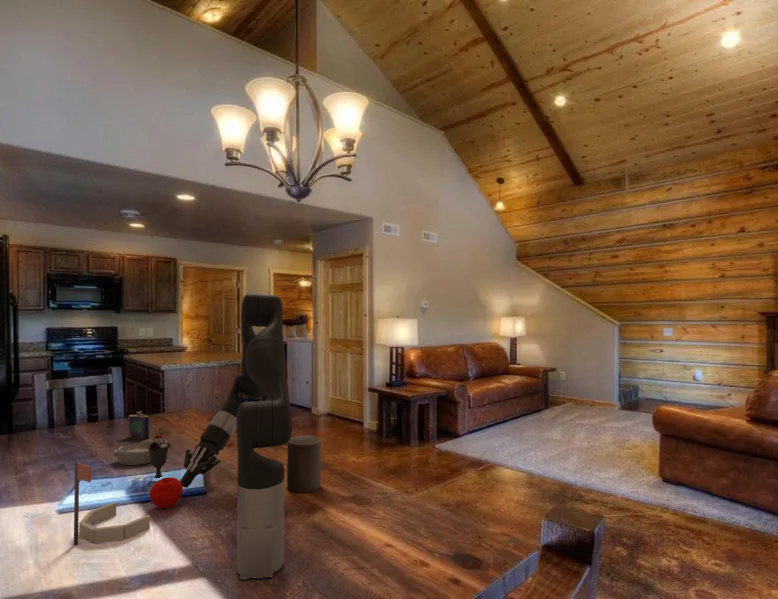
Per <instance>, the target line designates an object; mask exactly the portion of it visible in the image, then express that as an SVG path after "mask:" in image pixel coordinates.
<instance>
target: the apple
mask: <svg viewBox="0 0 778 599" xmlns="http://www.w3.org/2000/svg"><path fill="white" fill-rule="evenodd" d="M183 492H184V487H183V485H182V483H181V482H180V480H179V479H178V478H176V477H167V478H163V479H161V480H159V481H157V482H154V483H153V485H152V486H151V488H150V491H149V494H148V496H149V497H148V498H149V499H150V502H151V504H153V505H154V506H155V507H156V508H159V509H168V508H173V507H174V506H175V505H176V504H178V502H179V501H180V500H181V497H182V496H183Z"/></svg>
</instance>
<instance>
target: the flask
mask: <svg viewBox="0 0 778 599" xmlns="http://www.w3.org/2000/svg"><path fill="white" fill-rule="evenodd" d="M142 412H143V411H142V410H139V411H136V414H130V415H128V426H127V427H128V430H127V433H128V434H127V435H128V436H127V437H128V438H129V439H135V440H136V439H137V440H150V416H149V415H147V414H143V413H142Z"/></svg>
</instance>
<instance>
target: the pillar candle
mask: <svg viewBox="0 0 778 599" xmlns="http://www.w3.org/2000/svg"><path fill="white" fill-rule="evenodd" d="M321 452H322V438H320V437H318V436H315V435H306V434H305V435H298V436H293V437H292V436H291V438H290V440H289V442H288V443H287V462H286V467H287V468H286V472H287V473H286V474H287V475H286V477H287V478H286V480H287V481H286V482H287V483H286V489H287V490H288V491H289V492H291V493H294V492H295V493H294V494H308V493H313V492H315V491H317V490H318V489H319V488H320V487H321V468H322V467H321V462H322V460H321V459H322V457H321V456H322V454H321ZM307 492H308V493H307Z"/></svg>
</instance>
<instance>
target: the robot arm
mask: <svg viewBox="0 0 778 599" xmlns="http://www.w3.org/2000/svg"><path fill="white" fill-rule="evenodd" d="M283 309H284V308H283V302H282V300H281V298H280V296H278V295H276V294H266V293H265V294H264V293H246V294H245V295H244V296H243V299H242V302H241V309H240V326H241V327H240V332H241V334H240V335H241V345H242V350H241V351H242V352H241V353H242V355H241V363H240V371H241V372H239V373H238V374H237V375H236V376H235V377H234V380H233V383H232V386H231V389H230V393H229V394H228V397H227V399H226V400H225V403H224V402H223V403H224V404H222V406H221V408H220V410H218V412H217V413H216V414H215V415H214V416H213V418H212V419H211V421H210V422H209V424H208V425H207V426H206V428H205V429H204V431H203V432H202V434H201V435H200V440H199V441H200V442H199V443H198V444H196V445H195V447H194V449H191V450H190V449H189V448H188V449H187V450H185V455H184V462H183V468H184V469H185V470H186V472H185V473H184V474H183V476H182V477H181V479H180V480H179V481H180V482H181V483H182V485H183V488H185V489H187V488H189V486H190V485H192V482H193V481H194V479H196V477H197V476H199V475H202V476H203V475H205V474H206V473H207V472H209V471H210V470H212V469H213V468H214V467H216V466H217V465H219V464H220V463H221V460H220V459H219V457H218V455H219V453H220V451H223V450H224V448H225V447H226V446H227V444H228V443H229V440H230V439H231V438H232V436H233V434H234V433H235V431H236V440H237V442H236V443H237V478H236V480H237V482H236V485H237V487H236V488H237V491H236V492H237V494H236V496H237V498H236V501H237V502H236V504H237V505H236V571H237V574H238V573H239V574H240V575H239V574H238V575H239V579H242V578H253V577H254V578H255V577H256V578H257V577H258V578H259V577H270V576H273V577H274V575H275V574H276V573H277V572H276V571H277V570H279V569H280V568H281V567H282V565H283V566H284V564H285V466H284V464H283V463H282V462H281V461H280V460H277V459H273V458H269V457H266V456H263V455H261V454H260V453H259V452H256V450H255V449H261V448H272V447H273V448H274V447H280V446H284V445H286V444H287V445H288V442H289V440H290V438H292V434H293V433H292V432H293V416H292V415H293V414H292V410H291V403H290V398H289V392H288V386H287V365H286V364H287V361H286V351H285V350H286V349H285V343H284V342H285V341H284V335H283V322H284V321H283V316H284V315H283V313H284V312H283ZM253 327H257V328H258V327H260V328H263V329H262V330H260V331H259V332H257V334H256V332H255V331H254V329H253ZM240 394H241V395H243V396H245V397H248V398H250V399H252V400H254V401H246V402H245V400H244V399H242V398H241V397H240ZM265 395H267V396H268V398H269V400H260V399H262V398H263V397H264V396H265ZM257 400H258V401H257ZM283 563H284V564H283ZM282 568H283V567H282ZM282 568H281V569H282ZM281 569H280V570H281ZM280 570H279V571H280ZM275 572H276V573H275ZM274 573H275V574H274ZM273 574H274V575H273Z"/></svg>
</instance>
